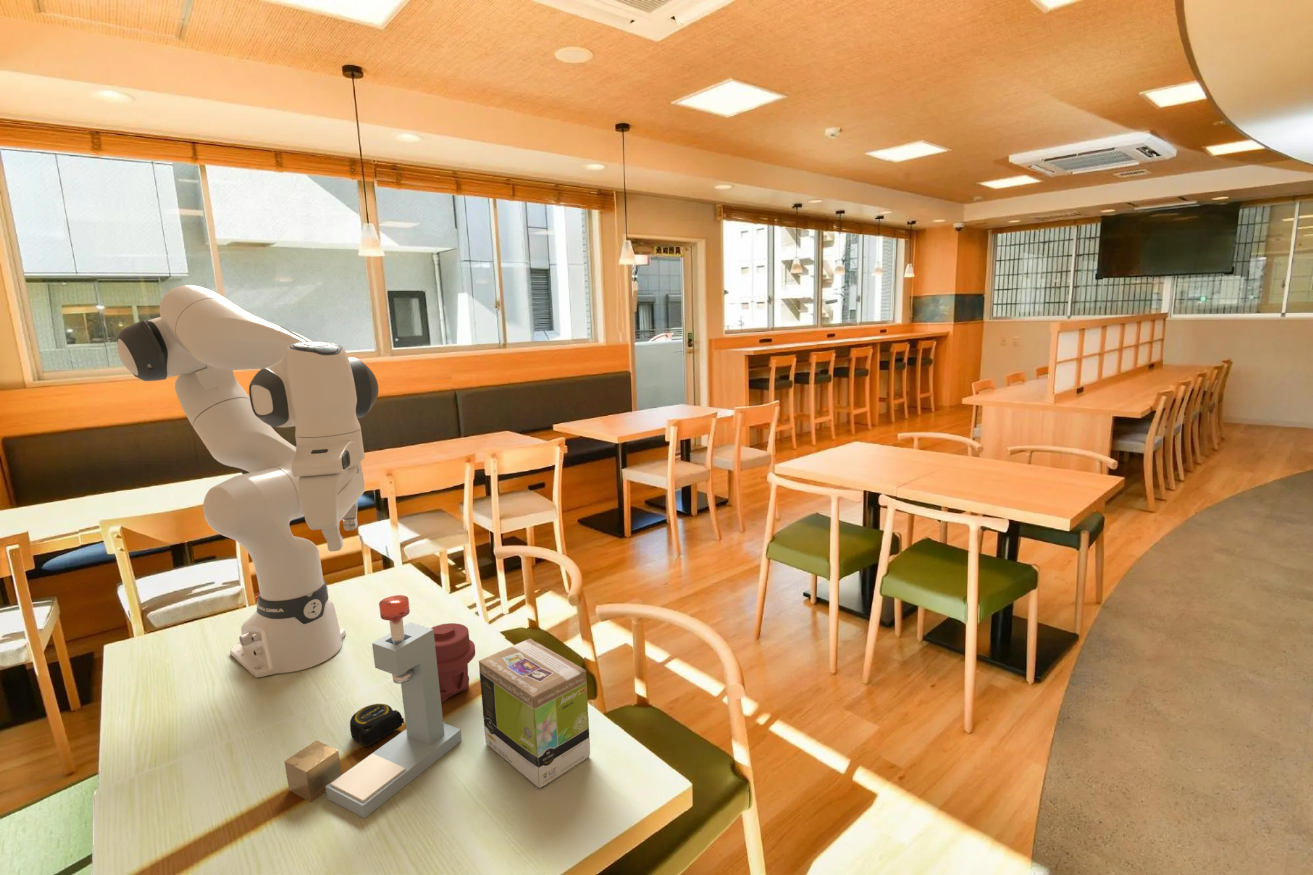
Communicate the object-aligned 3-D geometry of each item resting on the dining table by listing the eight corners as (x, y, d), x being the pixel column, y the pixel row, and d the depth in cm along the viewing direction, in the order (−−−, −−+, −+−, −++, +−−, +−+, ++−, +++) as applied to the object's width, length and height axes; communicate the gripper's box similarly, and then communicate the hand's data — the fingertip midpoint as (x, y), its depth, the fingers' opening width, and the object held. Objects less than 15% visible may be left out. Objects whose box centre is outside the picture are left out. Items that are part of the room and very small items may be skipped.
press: (327, 798, 92) (307, 671, 88) (426, 726, 108) (414, 614, 104) (364, 818, 89) (346, 686, 85) (461, 740, 104) (450, 625, 100)
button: (382, 681, 97) (372, 604, 94) (404, 668, 100) (395, 593, 98) (401, 688, 95) (391, 609, 92) (422, 674, 98) (414, 598, 96)
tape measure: (366, 754, 102) (363, 733, 101) (343, 737, 106) (340, 717, 105) (405, 731, 107) (403, 710, 106) (382, 716, 111) (380, 696, 110)
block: (289, 791, 94) (284, 760, 93) (321, 769, 99) (316, 740, 98) (311, 802, 92) (306, 772, 91) (342, 779, 96) (338, 750, 95)
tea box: (593, 756, 100) (588, 668, 97) (539, 791, 93) (532, 698, 90) (536, 715, 110) (530, 634, 107) (483, 744, 103) (475, 659, 100)
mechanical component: (488, 678, 121) (461, 710, 112) (439, 673, 123) (409, 705, 114) (482, 617, 119) (455, 645, 109) (432, 613, 121) (401, 640, 111)
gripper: (327, 439, 107) (338, 520, 109) (286, 468, 87) (301, 565, 90) (368, 436, 108) (378, 516, 111) (337, 463, 88) (350, 559, 91)
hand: (344, 538), depth 100 cm, fingers open, 8 cm apart
